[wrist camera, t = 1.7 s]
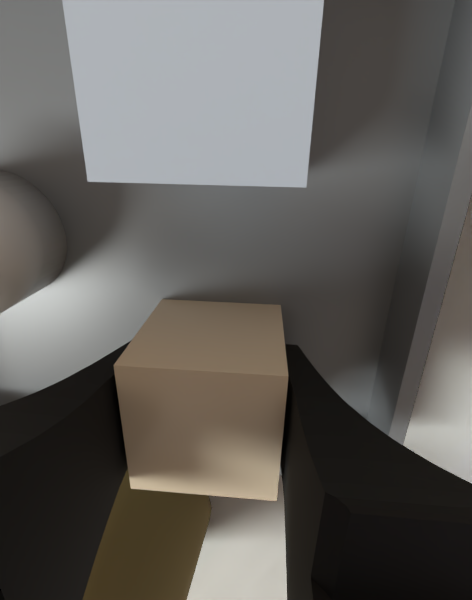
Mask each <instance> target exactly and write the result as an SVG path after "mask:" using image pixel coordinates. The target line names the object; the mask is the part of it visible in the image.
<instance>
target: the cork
mask: <svg viewBox="0 0 472 600" xmlns="http://www.w3.org/2000/svg"><path fill="white" fill-rule="evenodd" d="M211 509H212V507H211V504H210V500H209V496H208V495H199V494H188V493H176V492H164V491H153V490H141V489H131V487H130V480H129V473H128V469H127V471H126V473H125V476H124V478H123V480H122V483H121V485H120V487H119V490H118V493H117V496H116V499H115V502H114V504H113V507H112V510H111V513H110V516H109V518H108V521H107V524H106V527H105V530H104V533H103V536H102V539H101V542H100V545H99V548H98V551H97V554H96V558H95V561H94V564H93V567H92V570H91V574H90V577H89V580H88V583H87V587H86V590H85V593H84V596H83V600H186V599H187V596H188V592H189V589H190V585H191V582H192V579H193V575H194V572H195V568H196V565H197V561H198V558H199V554H200V551H201V548H202V544H203V541H204V537H205V534H206V530H207V527H208V523H209V519H210V514H211Z"/></svg>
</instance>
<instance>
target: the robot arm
mask: <svg viewBox="0 0 472 600" xmlns="http://www.w3.org/2000/svg"><path fill="white" fill-rule="evenodd" d="M131 341H132V340H131ZM131 341H130V342H131ZM130 342H128V343H126V344H125V345H123V346H121V347H120V348H118V349H116V350H115V351H113V352H111V353H110V354H108V355H106V356H105V357H103V358H101V359H100V360H98V361H96V362H95V363H93V364H91V365H89V366H87V367H86V368H84V369H82V370H80V371H78V372H76V373H75V374H73V375H71V376H69V377H67V378H65V379H63V380H61V381H59V382H57V383H55V384H53V385H51V386H49V387H46V388H44V389H42V390H40V391H37V392H35V393H33V394H30V395H28V396H25V397H23V398H20V399H17V400H15V401H12V402H9V403H6V404H4V405H1V406H0V600H83V596H84V593H85V590H86V587H87V583H88V580H89V577H90V574H91V570H92V567H93V564H94V561H95V558H96V554H97V551H98V548H99V545H100V542H101V539H102V536H103V533H104V530H105V527H106V524H107V521H108V518H109V516H110V513H111V510H112V507H113V504H114V502H115V499H116V496H117V493H118V490H119V487H120V485H121V483H122V480H123V478H124V476H125V473H126V471H127V469H128V465H127V458H126V451H125V444H124V437H123V430H122V423H121V416H120V408H119V401H118V394H117V387H116V380H115V373H114V366H113V365H114V364H115V363H116V361H117V360H118V358H119V357H120V356H121V354H122V353H123V352H124V350H125V349H126V348H127V346H128V345H129V343H130ZM285 349H286V358H287V367H288V387H287V397H286V408H285V418H284V429H283V440H282V450H281V461H280V466H281V474H282V481H283V491H284V504H285V533H286V567H287V600H472V484H471V483H469V482H467V481H465V480H463V479H461V478H459V477H457V476H455V475H454V474H452V473H450V472H448V471H446V470H444V469H442V468H440V467H438V466H436V465H434V464H433V463H431V462H429V461H428V460H426V459H424V458H422V457H421V456H419V455H417V454H416V453H414V452H412V451H411V450H409V449H408V448H406V447H404V446H403V445H401V444H400V443H398V442H397V441H395V440H394V439H392V438H391V437H389V436H388V435H387V434H385V433H384V432H382V431H381V430H380V429H378V428H377V427H375V426H374V425H373V424H371V423H370V422H369V421H368V420H366V419H365V418H364V417H363V416H361V415H360V414H359V413H358V412H357V411H356V410H354V409H353V408H352V407H351V406H350V405H349V404H348V403H346V402H345V401H344V400H343V399H342V398H341V397H340V396H339V395H338V394H337V393H336V392H335V391H334V390H333V389H332V388H331V386H330V385H329V384H328V383H327V382H326V381H325V380H324V378H323V377H322V376H321V375H320V374H319V372H318V371H317V370H316V369H315V368H314V366H313V365H312V364H311V362H310V361H309V360H308V358H307V357H306V356H305V354H304V353H303V351H302V350H301V348H300V347H299V346H298V345H291V344H285Z"/></svg>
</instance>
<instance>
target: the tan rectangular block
mask: <svg viewBox="0 0 472 600" xmlns="http://www.w3.org/2000/svg"><path fill="white" fill-rule="evenodd" d="M113 366H114V373H115V380H116V387H117V394H118V401H119V408H120V416H121V423H122V430H123V437H124V444H125V451H126V458H127V465H128V473H129V480H130V487H131V489H141V490H153V491H164V492H176V493H188V494H199V495H211V496H223V497H234V498H246V499H258V500H269V501H277V492H278V482H279V471H280V461H281V450H282V440H283V429H284V418H285V408H286V397H287V387H288V367H287V358H286V349H285V339H284V330H283V321H282V312H281V305H272V304H251V303H231V302H210V301H190V300H169V299H162V300H161V301H160V302H159V304H158V305H157V306H156V308H155V309H154V311H153V312H152V313H151V315H150V316H149V317H148V319H147V320H146V322H145V323H144V324H143V326H142V327H141V328H140V330H139V331H138V332H137V334H136V335H135V337H134V338H133V339H132V341H131V342H130V343H129V345H128V346H127V348H126V349H125V350H124V352H123V353H122V354H121V356H120V357H119V358H118V360H117V361H116V363H115V364H114V365H113Z"/></svg>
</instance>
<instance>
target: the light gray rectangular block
mask: <svg viewBox="0 0 472 600" xmlns="http://www.w3.org/2000/svg"><path fill="white" fill-rule="evenodd" d="M62 2H63V9H64V16H65V24H66V31H67V38H68V45H69V52H70V59H71V66H72V73H73V81H74V88H75V95H76V102H77V109H78V116H79V123H80V130H81V138H82V145H83V152H84V159H85V166H86V173H87V180H88V182H116V183H153V184H191V185H228V186H266V187H303V188H306V186H307V175H308V165H309V154H310V144H311V133H312V122H313V112H314V101H315V91H316V80H317V70H318V59H319V48H320V38H321V27H322V17H323V6H324V0H62Z"/></svg>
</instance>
